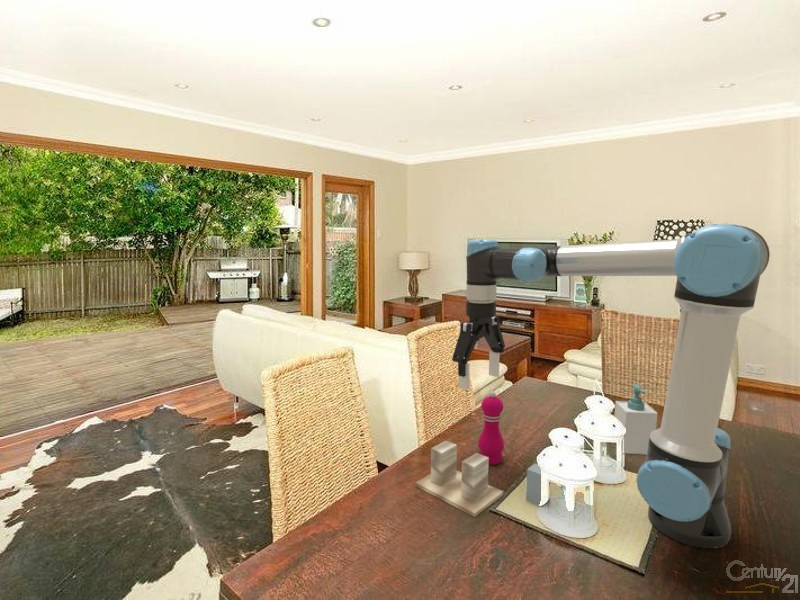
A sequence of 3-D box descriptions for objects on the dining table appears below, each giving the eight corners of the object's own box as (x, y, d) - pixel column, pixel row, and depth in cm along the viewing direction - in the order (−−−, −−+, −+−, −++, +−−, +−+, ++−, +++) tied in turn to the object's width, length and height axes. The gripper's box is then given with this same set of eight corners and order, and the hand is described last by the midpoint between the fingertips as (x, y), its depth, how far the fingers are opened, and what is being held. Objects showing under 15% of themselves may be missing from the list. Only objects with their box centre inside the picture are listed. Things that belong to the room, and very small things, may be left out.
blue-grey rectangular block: (549, 500, 107) (551, 468, 106) (541, 507, 104) (543, 475, 103) (534, 493, 110) (535, 463, 108) (525, 500, 107) (527, 469, 106)
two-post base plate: (503, 495, 109) (504, 456, 107) (474, 517, 100) (475, 475, 99) (445, 468, 121) (445, 433, 120) (415, 486, 113) (415, 449, 111)
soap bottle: (623, 454, 129) (627, 390, 126) (612, 440, 138) (616, 380, 135) (654, 455, 128) (660, 392, 125) (641, 441, 137) (646, 381, 134)
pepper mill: (504, 466, 122) (506, 397, 119) (477, 464, 124) (479, 395, 121) (503, 454, 129) (505, 388, 126) (478, 452, 131) (479, 386, 128)
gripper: (495, 294, 124) (493, 368, 127) (438, 304, 107) (437, 390, 110) (519, 297, 119) (517, 374, 122) (463, 308, 101) (462, 397, 104)
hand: (479, 381), depth 116 cm, fingers open, 13 cm apart
